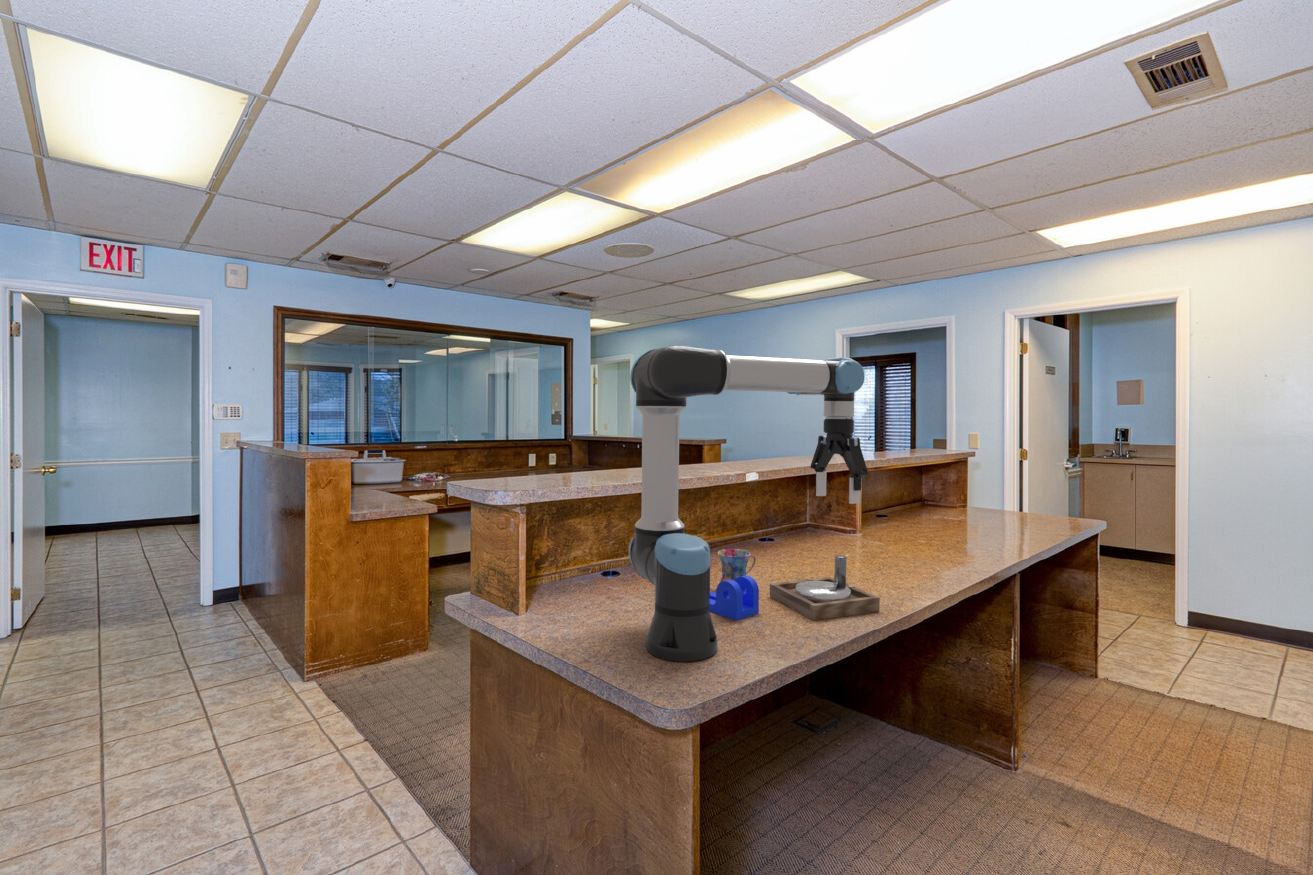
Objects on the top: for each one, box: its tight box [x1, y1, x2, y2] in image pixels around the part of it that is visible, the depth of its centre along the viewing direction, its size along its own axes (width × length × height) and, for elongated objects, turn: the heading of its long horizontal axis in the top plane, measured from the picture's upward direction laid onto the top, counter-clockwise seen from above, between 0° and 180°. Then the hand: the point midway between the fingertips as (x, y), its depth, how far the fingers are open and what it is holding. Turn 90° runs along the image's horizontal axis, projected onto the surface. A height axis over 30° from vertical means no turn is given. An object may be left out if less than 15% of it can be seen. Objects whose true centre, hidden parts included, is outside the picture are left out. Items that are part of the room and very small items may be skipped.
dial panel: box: [769, 576, 881, 621], centre depth 160 cm, size 20×20×4 cm
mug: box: [717, 548, 757, 590], centre depth 173 cm, size 12×9×11 cm
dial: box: [796, 554, 851, 603], centre depth 160 cm, size 14×14×10 cm
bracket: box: [709, 574, 760, 622], centre depth 156 cm, size 18×8×9 cm, turn 42°
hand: (837, 499), depth 158 cm, fingers open, 13 cm apart
